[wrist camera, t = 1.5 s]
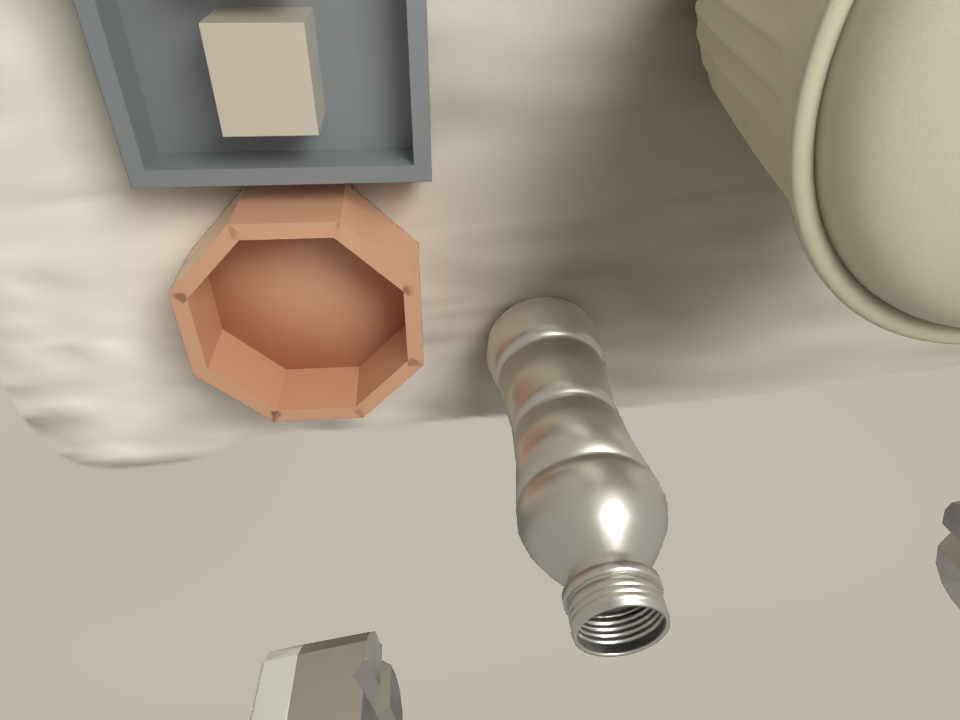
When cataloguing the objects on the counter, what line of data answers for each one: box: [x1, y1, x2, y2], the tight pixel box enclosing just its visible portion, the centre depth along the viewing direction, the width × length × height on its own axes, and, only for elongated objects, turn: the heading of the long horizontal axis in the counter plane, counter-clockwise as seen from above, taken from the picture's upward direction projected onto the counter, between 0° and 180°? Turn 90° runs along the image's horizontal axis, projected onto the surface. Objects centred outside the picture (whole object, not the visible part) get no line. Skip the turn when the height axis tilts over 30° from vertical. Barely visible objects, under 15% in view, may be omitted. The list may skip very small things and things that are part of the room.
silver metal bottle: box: [487, 297, 670, 657], centre depth 33 cm, size 6×7×20 cm
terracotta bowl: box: [168, 183, 423, 422], centre depth 36 cm, size 12×12×4 cm
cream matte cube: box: [199, 7, 326, 137], centre depth 29 cm, size 4×4×3 cm
